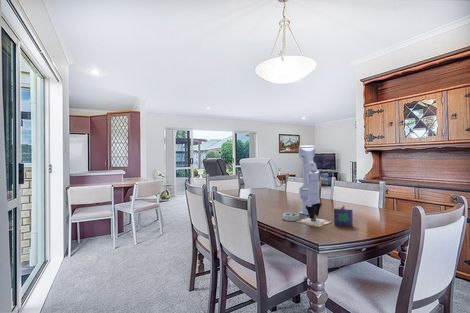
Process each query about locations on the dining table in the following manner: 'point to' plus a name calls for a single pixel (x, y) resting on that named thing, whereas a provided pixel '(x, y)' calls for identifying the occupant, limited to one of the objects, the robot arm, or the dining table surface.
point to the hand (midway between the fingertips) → (314, 217)
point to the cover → (313, 220)
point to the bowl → (291, 216)
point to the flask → (343, 217)
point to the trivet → (315, 224)
